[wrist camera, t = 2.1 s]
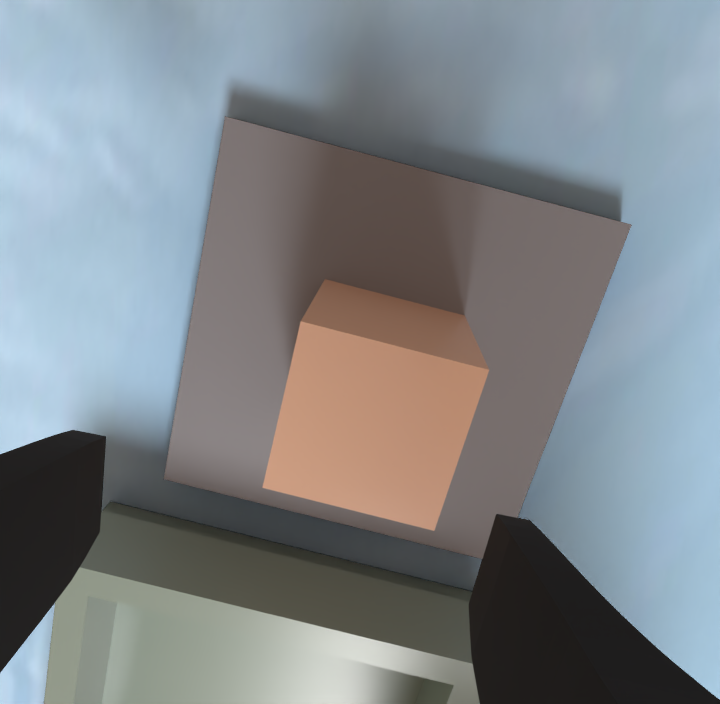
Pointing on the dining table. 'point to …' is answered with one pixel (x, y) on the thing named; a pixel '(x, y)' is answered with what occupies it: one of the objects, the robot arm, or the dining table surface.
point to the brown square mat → (389, 277)
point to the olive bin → (249, 624)
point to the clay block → (376, 405)
